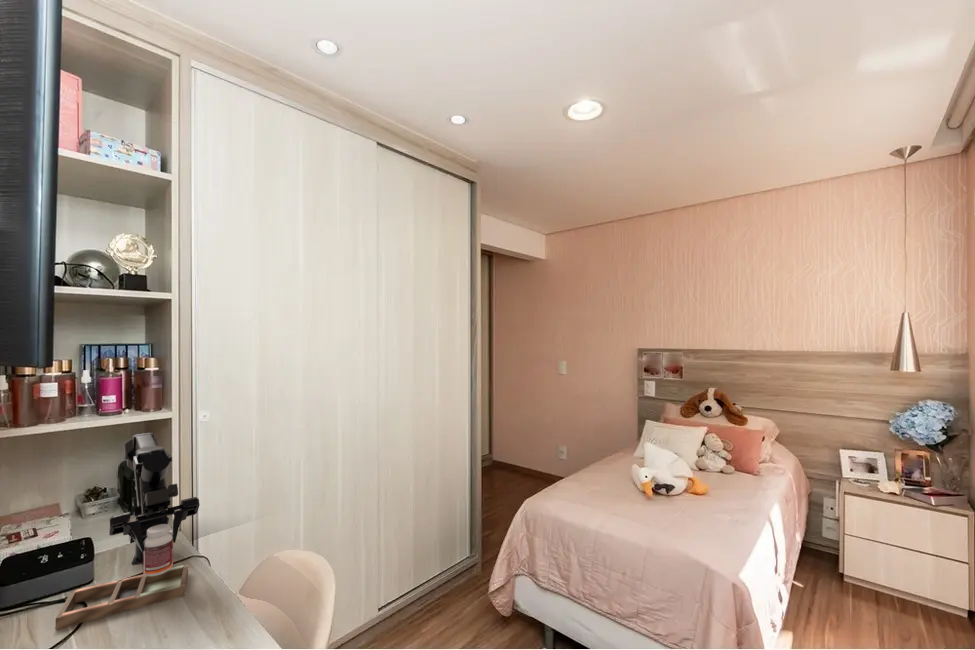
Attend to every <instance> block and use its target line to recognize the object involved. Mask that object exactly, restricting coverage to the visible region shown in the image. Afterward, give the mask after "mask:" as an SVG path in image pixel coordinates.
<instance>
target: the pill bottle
mask: <svg viewBox="0 0 975 650" xmlns="http://www.w3.org/2000/svg"><path fill="white" fill-rule="evenodd" d="M143 543H144V551H143V562H142V573H143V574H142V575H145V576H157V575H161V574H163V573H165V572H167V571H169V570H170V569H171V568H173V567H174V543H173V533H171V532H170V524H169V523H168V524H160V525H156V526H153V527H150V528H149V529H148V530H147V538H146V539H145V540H144V542H143Z"/></svg>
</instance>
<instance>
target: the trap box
mask: <svg viewBox="0 0 975 650" xmlns="http://www.w3.org/2000/svg"><path fill="white" fill-rule="evenodd" d="M188 577H189V565H188V564H187V565H184V564H182V565H178V566H172V568H171V569H170V570H169V571H167V572H165V573H163V574H161V575H157V576H145V575H144V574H139V575H138V574H137V575H134V576H130V577H127V578H122V580H114V581H113V580H112V581H109V582H105V583H100V584H97V585H92V586H88V587H82V588H80V589H79V588H78V589H76V590H75V591H72V592H70V593H69V595H68V596H67V598H66V600H65V602H64V603H63V605H62V607H61V609H60V610H59V612H58V613H57V615H56V617H55V630H58V629H59V630H60V629H63V628H66V627H70V626H75V625H78V624H82V623H86V622H90V621H93V620H97V619H101V618H105V617H109V616H112V615H116V614H120V613H123V612H124V613H125V612H128V611H131V610H135V609H139V608H143V607H146V606H147V607H148V606H151V605H154V604H158V603H162V602H166V601H169V600H174V599H177V598H181V597H185V595H186V589H187V583H188ZM106 596H110V599H109V600H108V601H106V602H101V603H99V604H95V605H89V606H86V607H83V608H79V609H73V608H74V606H75V604H78V603H81V602H86V601H90V600H94V599H98V598H102V597H106Z"/></svg>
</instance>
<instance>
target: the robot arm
mask: <svg viewBox="0 0 975 650" xmlns="http://www.w3.org/2000/svg"><path fill="white" fill-rule="evenodd" d="M158 444H159V443H158V439H157V438H155V437H154V433H153V432H145V433H143V432H142V433H136V434H134V435H132V438H131V439H130V440H128V441H127V442H126V443H124V446H123V461H126V466H127V468H129V469H130V470H131V471H133V473H134V474H133V475H134V482H135V483H134V484H135V492H136V493H135V494H136V495H135V496H136V505H137V506H136V507H135V508H134V511H133V512H132V515H131V512H130V511H128V512H123V513H120V514H119V513H118V514H115V515H112V516H111V517H110V518H109V524H108V532H109V533H108V535H109V536H115V535H119V534H120V535H121V534H122V535H123V536H128V541H129V543H130V545H131V544H133V543H134V551H135V552H134V556H133V558H132V561H131V565H136V564H141V563H143V551H144V543H143V542H144V540H145V539H146V538H147V530H148V529H149V528H150V527H153V526H156V525H160V524H168V525H169V522H170V517H168V516H172V515H173V520H172V535H173V544H175V543H176V540H177V536H178V533H179V529H180V526H181V524H182V521H186V519H187V518H188V517H192V516H194V515H196V514H198V511H199V509H200V505H201V504H200V499H199V497H196V496H194V497H189V498H184V499H181V500H180V504H179V505H176V506H171V498H176V497H178V496H179V487H178V483H173V484H169V485H168V487H167V479H166V477H167V476H168V472H169V468H170V464H171V463H172V462H173V457H172V456H171V455H170V454H169V452H168V451H167V450H165V448H164V447H163V446H161V445H160V446H159V445H158ZM169 506H171V507H169Z"/></svg>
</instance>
